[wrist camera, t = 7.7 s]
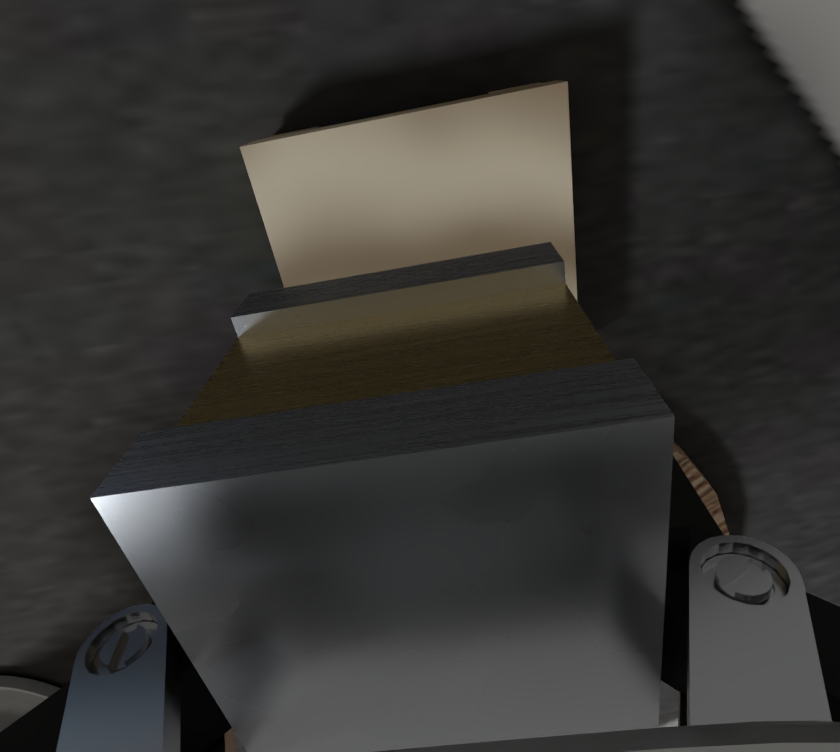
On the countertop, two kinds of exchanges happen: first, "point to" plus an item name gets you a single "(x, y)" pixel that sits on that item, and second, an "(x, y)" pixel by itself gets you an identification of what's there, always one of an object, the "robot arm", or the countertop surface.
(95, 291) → the countertop surface
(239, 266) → the countertop surface
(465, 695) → the block
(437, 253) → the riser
